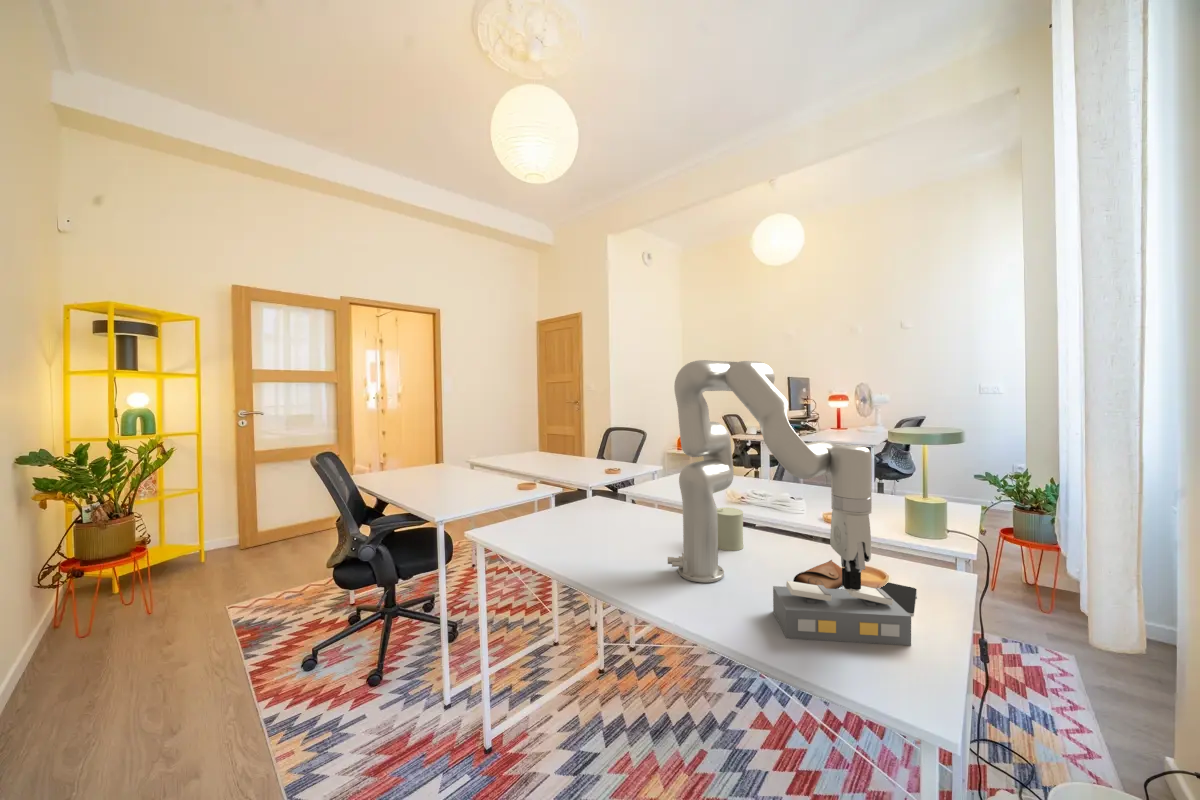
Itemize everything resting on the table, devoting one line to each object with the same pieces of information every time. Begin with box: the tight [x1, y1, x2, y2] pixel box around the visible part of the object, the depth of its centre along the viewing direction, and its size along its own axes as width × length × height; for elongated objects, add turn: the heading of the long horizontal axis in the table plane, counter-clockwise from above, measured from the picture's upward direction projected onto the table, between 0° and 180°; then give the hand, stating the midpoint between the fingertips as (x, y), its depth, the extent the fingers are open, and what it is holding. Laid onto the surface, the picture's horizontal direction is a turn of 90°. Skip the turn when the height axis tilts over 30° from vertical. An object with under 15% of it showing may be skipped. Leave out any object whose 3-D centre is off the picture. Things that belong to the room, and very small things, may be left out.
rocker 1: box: [785, 580, 832, 601], centre depth 97 cm, size 8×4×1 cm, turn 82°
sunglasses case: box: [793, 559, 843, 589], centre depth 118 cm, size 18×7×7 cm, turn 125°
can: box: [717, 507, 744, 552], centre depth 146 cm, size 9×9×12 cm
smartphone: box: [879, 581, 918, 617], centre depth 108 cm, size 8×1×15 cm
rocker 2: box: [842, 585, 893, 605], centre depth 95 cm, size 8×4×1 cm, turn 82°
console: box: [772, 585, 912, 647], centre depth 96 cm, size 24×11×7 cm, turn 82°
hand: (851, 587), depth 95 cm, fingers closed
